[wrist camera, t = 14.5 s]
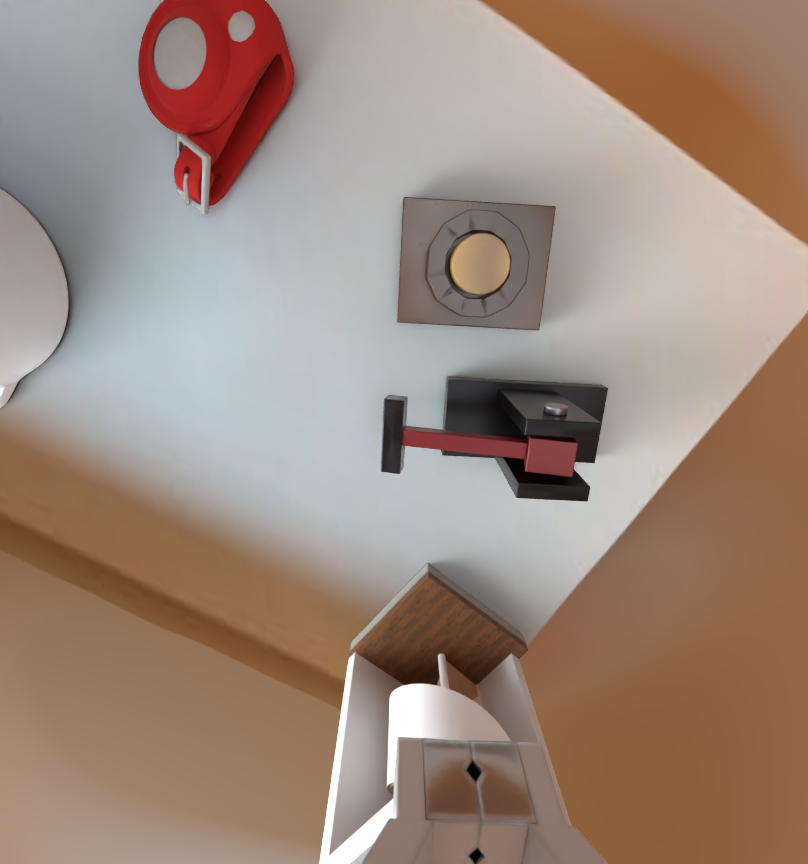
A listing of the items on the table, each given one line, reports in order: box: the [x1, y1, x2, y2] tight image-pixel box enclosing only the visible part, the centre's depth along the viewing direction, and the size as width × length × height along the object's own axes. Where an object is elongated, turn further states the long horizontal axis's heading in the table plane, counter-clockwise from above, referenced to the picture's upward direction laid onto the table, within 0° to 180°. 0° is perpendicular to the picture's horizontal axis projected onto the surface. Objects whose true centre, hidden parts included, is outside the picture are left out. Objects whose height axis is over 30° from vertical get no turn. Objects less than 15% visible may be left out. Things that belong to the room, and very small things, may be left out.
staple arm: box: [381, 395, 578, 477], centre depth 31 cm, size 12×5×2 cm, turn 87°
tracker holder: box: [139, 0, 294, 214], centre depth 30 cm, size 12×4×10 cm
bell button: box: [450, 233, 510, 295], centre depth 31 cm, size 4×4×2 cm
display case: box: [319, 563, 571, 864], centre depth 27 cm, size 11×11×35 cm
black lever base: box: [441, 377, 608, 501], centre depth 33 cm, size 12×6×10 cm, turn 87°
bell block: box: [397, 197, 556, 330], centre depth 33 cm, size 10×8×4 cm
